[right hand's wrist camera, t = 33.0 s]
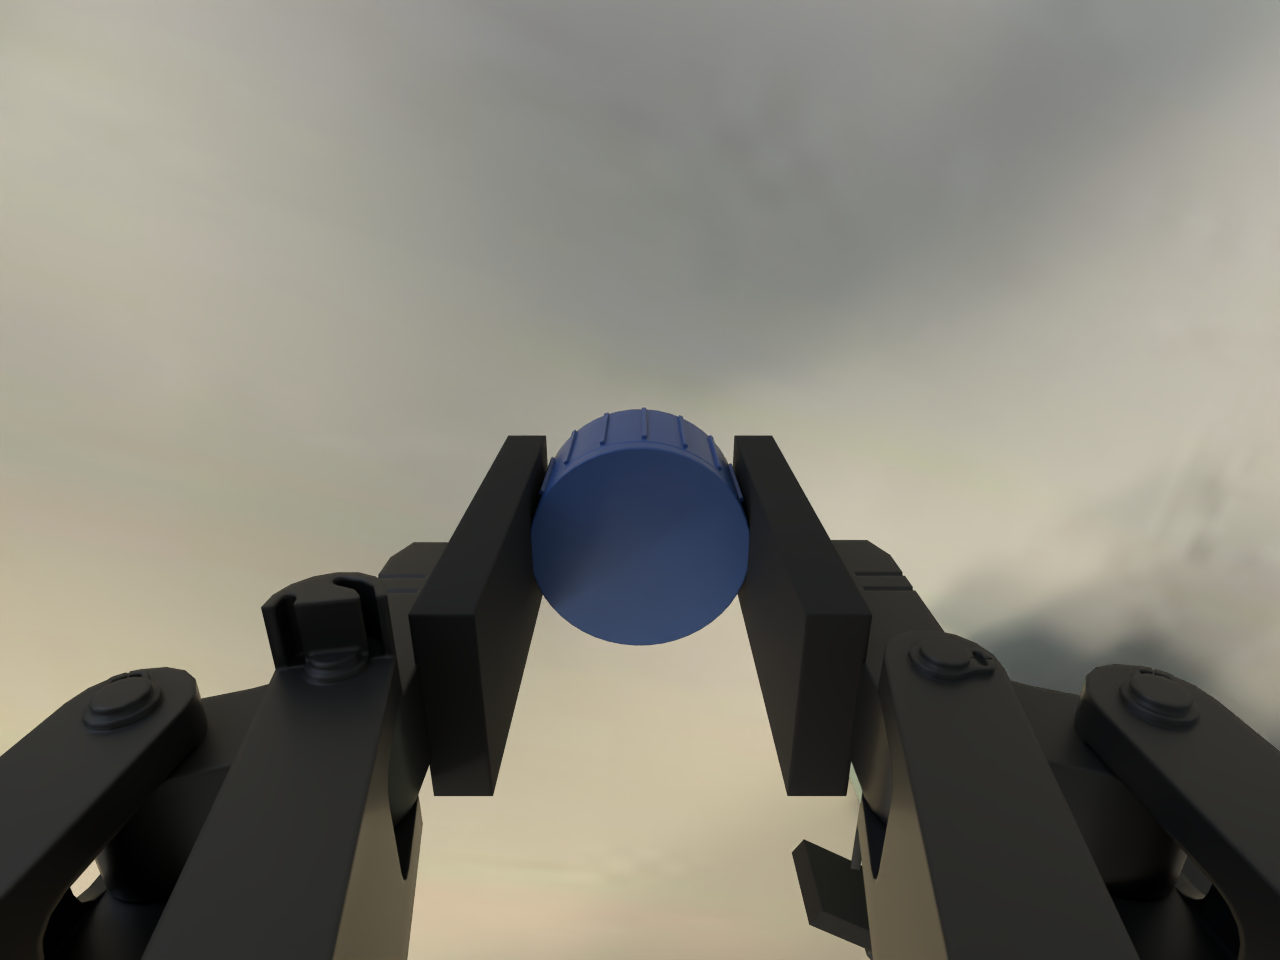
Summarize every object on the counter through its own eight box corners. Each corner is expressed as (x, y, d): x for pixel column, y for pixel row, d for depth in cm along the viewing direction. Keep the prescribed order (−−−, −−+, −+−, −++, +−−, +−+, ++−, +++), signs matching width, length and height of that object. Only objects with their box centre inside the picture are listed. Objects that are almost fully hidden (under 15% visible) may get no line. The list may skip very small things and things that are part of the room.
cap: (617, 616, 15) (613, 684, 13) (502, 477, 14) (477, 527, 12) (772, 522, 14) (795, 578, 12) (665, 366, 13) (669, 398, 11)
